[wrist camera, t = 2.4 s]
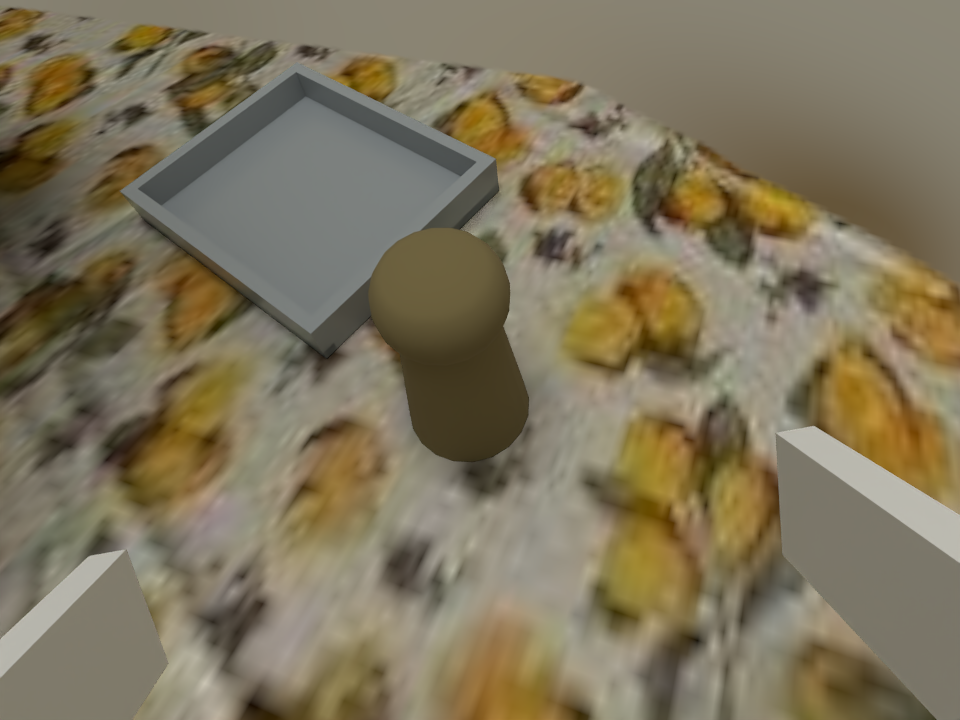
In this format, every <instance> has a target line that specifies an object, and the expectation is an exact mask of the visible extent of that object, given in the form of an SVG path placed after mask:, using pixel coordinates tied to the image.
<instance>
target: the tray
mask: <svg viewBox="0 0 960 720" xmlns="http://www.w3.org/2000/svg"><path fill="white" fill-rule="evenodd" d="M498 191H499V186H498V176H497V166H496V159H495V158H493V157H491V156H489V155H487V154H484V153H482V152H480V151H478V150H476V149H474V148H472V147H470V146H468V145H466V144H464V143H462V142H460V141H458V140H456V139H454V138H452V137H450V136H447V135H445V134H443V133H441V132H439V131H437V130H435V129H433V128H431V127H429V126H427V125H425V124H423V123H421V122H419V121H417V120H415V119H413V118H410V117H408V116H406V115H404V114H402V113H400V112H398V111H396V110H394V109H392V108H390V107H388V106H386V105H384V104H382V103H380V102H378V101H375V100H373V99H371V98H369V97H367V96H365V95H363V94H361V93H359V92H357V91H355V90H353V89H351V88H349V87H347V86H345V85H343V84H341V83H338V82H336V81H334V80H332V79H330V78H328V77H326V76H324V75H322V74H320V73H318V72H316V71H314V70H312V69H310V68H308V67H306V66H304V65H301V64H299V63H295V64H294V65H293V66H291V67H290V68H289V69H287V70H286V71H284V72H283V73H282V74H280V75H279V76H278V77H276V78H275V79H273V80H272V81H271V82H269V83H268V84H267V85H265V86H264V87H262V88H261V89H260V90H258V91H257V92H256V93H254V94H253V95H251V96H250V97H249V98H247V99H246V100H244V101H243V102H242V103H240V104H239V105H238V106H236V107H235V108H233V109H232V110H231V111H229V112H228V113H227V114H225V115H224V116H222V117H221V118H220V119H218V120H217V121H216V122H214V123H213V124H211V125H210V126H209V127H207V128H206V129H205V130H203V131H202V132H200V133H199V134H198V135H196V136H195V137H194V138H192V139H191V140H189V141H188V142H187V143H185V144H184V145H183V146H181V147H180V148H178V149H177V150H176V151H174V152H173V153H172V154H170V155H169V156H167V157H166V158H165V159H163V160H162V161H161V162H159V163H158V164H156V165H155V166H154V167H152V168H151V169H150V170H148V171H147V172H145V173H144V174H143V175H141V176H140V177H139V178H137V179H136V180H134V181H133V182H132V183H130V184H129V185H128V186H126V187H125V188H123V189H122V190H121V191H120V192H121V193H122V194H123V196H124V197H125V198H126V199H127V200H128V201H129V203H130V204H131V205H132V206H133V207H134V209H135V210H136V211H137V212H138V213H139V215H140V216H141V217H142V218H143V219H144V220H145V221H146V222H148V223H149V224H150V225H151V226H153V227H154V228H155V229H157V230H158V231H159V232H161V233H162V234H163V235H165V236H166V237H167V238H169V239H170V240H171V241H173V242H174V243H175V244H176V245H178V246H179V247H180V248H182V249H183V250H184V251H186V252H187V253H188V254H190V255H191V256H192V257H194V258H195V259H196V260H198V261H199V262H200V263H201V264H203V265H204V266H205V267H207V268H208V269H209V270H211V271H212V272H213V273H215V274H216V275H217V276H219V277H220V278H221V279H223V280H224V281H225V282H226V283H228V284H229V285H230V286H232V287H233V288H234V289H236V290H237V291H238V292H240V293H241V294H242V295H244V296H245V297H246V298H248V299H249V300H250V301H251V302H253V303H254V304H255V305H257V306H258V307H259V308H261V309H262V310H263V311H265V312H266V313H267V314H269V315H270V316H271V317H273V318H274V319H275V320H276V321H278V322H279V323H280V324H282V325H283V326H284V327H286V328H287V329H288V330H290V331H291V332H292V333H294V334H295V335H296V336H298V337H299V338H300V339H301V340H303V341H304V342H305V343H307V344H308V345H309V346H311V347H312V348H313V349H315V350H316V351H317V352H319V353H320V354H321V355H323V356H324V357H325V358H326V359H327V358H328V357H329V356H330V355H331V354H332V353H333V352H334V351H335V350H336V349H337V348H338V347H339V346H340V345H341V344H342V343H343V342H344V341H345V340H346V339H347V338H348V337H349V336H351V335H352V334H353V333H354V332H355V331H356V330H357V329H358V328H359V327H360V326H361V325H362V324H363V323H364V322H365V321H366V320H367V319H368V318H369V317H370V316H371V311H370V305H369V297H368V290H369V285H370V281H371V276H372V273H373V271H374V269H375V267H376V266H377V264H378V262H379V261H380V259H381V257H382V256H383V254H384V253H385V252H386V251H387V250H388V249H389V248H390V247H391V246H392V245H393V244H395V243H396V242H397V241H398V240H400V239H402V238H404V237H406V236H408V235H410V234H412V233H413V232H417V231H421V230H425V229H429V228H454V229H458V230H459V229H460V228H461V227H462V226H463V225H464V224H465V223H466V222H467V221H468V220H469V219H470V218H471V217H472V216H473V215H475V214H476V213H477V212H478V211H479V210H480V209H481V208H482V207H483V206H484V205H485V204H486V203H487V202H488V201H489V200H490V199H491V198H492V197H493V196H494V195H495V194H496V193H497V192H498Z"/></svg>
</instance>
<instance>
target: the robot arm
mask: <svg viewBox="0 0 960 720" xmlns="http://www.w3.org/2000/svg"><path fill="white" fill-rule="evenodd" d="M776 449H777V467H778V484H779V502H780V519H781V536H782V554H783V556H784V557H785V558H786V559H787V560H788V561H789V562H790V563H791V564H792V565H793V566H794V567H795V568H796V569H797V571H798V572H799V573H800V574H801V575H802V576H803V577H804V578H805V579H806V580H807V581H808V582H809V583H810V584H811V586H812V587H813V588H814V589H815V590H816V591H817V592H818V593H819V594H820V595H821V596H822V597H823V598H824V599H825V600H826V602H827V603H828V604H829V605H830V606H831V607H832V608H833V609H834V610H835V611H836V612H837V613H838V614H839V615H840V617H841V618H842V619H843V620H844V621H845V622H846V623H847V624H848V625H849V626H850V627H851V628H852V629H853V630H854V631H855V633H856V634H857V635H858V636H859V637H860V638H861V639H862V640H863V641H864V642H865V643H866V644H867V645H868V646H869V647H870V649H871V650H872V651H873V652H874V653H875V654H876V655H877V656H878V657H879V658H880V659H881V660H882V661H883V662H884V664H885V665H886V666H887V667H888V668H889V669H890V670H891V671H892V672H893V673H894V674H895V675H896V676H897V677H898V678H899V680H900V681H901V682H902V683H903V684H904V685H905V686H906V687H907V688H908V689H909V690H910V691H911V692H912V693H913V695H914V696H915V697H916V698H917V699H918V700H919V701H920V702H921V703H922V704H923V705H924V706H925V707H926V708H927V709H928V711H929V712H930V713H931V714H932V715H933V716H934V717H935V718H936V719H937V720H960V515H959V514H957V513H956V512H954V511H952V510H951V509H949V508H947V507H946V506H944V505H942V504H941V503H939V502H938V501H936V500H934V499H933V498H931V497H929V496H928V495H926V494H924V493H923V492H921V491H920V490H918V489H916V488H915V487H913V486H911V485H910V484H908V483H906V482H905V481H903V480H902V479H900V478H898V477H897V476H895V475H893V474H892V473H890V472H888V471H887V470H885V469H884V468H882V467H880V466H879V465H877V464H875V463H874V462H872V461H870V460H869V459H867V458H865V457H864V456H862V455H861V454H859V453H857V452H856V451H854V450H852V449H851V448H849V447H847V446H846V445H844V444H843V443H841V442H839V441H838V440H836V439H834V438H833V437H831V436H829V435H828V434H826V433H825V432H823V431H821V430H820V429H818V428H816V427H815V426H811V427H806V428H800V429H795V430H789V431H783V432H778V433H776ZM167 665H168V660H167V658H166V655H165V652H164V650H163V647H162V644H161V641H160V639H159V636H158V633H157V631H156V628H155V625H154V623H153V620H152V617H151V614H150V612H149V609H148V606H147V604H146V601H145V598H144V596H143V593H142V590H141V587H140V585H139V582H138V579H137V577H136V574H135V571H134V569H133V566H132V563H131V560H130V558H129V555H128V552H127V550H120V551H114V552H109V553H103V554H98V555H92V556H89V557H87V558H86V559H85V560H84V561H83V562H82V563H81V564H80V565H79V566H78V567H77V568H76V569H75V570H74V571H72V572H71V573H70V574H69V575H68V576H67V577H66V578H65V579H64V580H63V581H62V582H61V583H60V584H59V585H58V586H56V587H55V588H54V589H53V590H52V591H51V592H50V593H49V594H48V595H47V596H46V597H45V598H44V599H43V600H41V601H40V602H39V603H38V604H37V605H36V606H35V607H34V608H33V609H32V610H31V611H30V612H29V613H28V614H26V615H25V616H24V617H23V618H22V619H21V620H20V621H19V622H18V623H17V624H16V625H15V626H14V627H13V628H11V629H10V630H9V631H8V632H7V633H6V634H5V635H4V636H3V637H2V638H1V639H0V720H132V719H133V718H134V716H135V715H136V713H137V712H138V710H139V708H140V707H141V705H142V704H143V702H144V701H145V699H146V698H147V696H148V694H149V693H150V691H151V690H152V688H153V687H154V685H155V684H156V682H157V680H158V679H159V677H160V676H161V674H162V673H163V671H164V670H165V668H166V666H167Z"/></svg>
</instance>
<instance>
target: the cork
mask: <svg viewBox="0 0 960 720" xmlns="http://www.w3.org/2000/svg"><path fill="white" fill-rule="evenodd" d="M368 297H369V305H370V311H371V317H372V320H373V322H374V324H375V326H376V328H377V329H378V331H379V332H380V334H381V335H382V337H383V339H384V340H385V342H386V343H387V344H388V345H390V346H391V347H392V348H393V349H394V350H396V351H397V352H398V353H400V358H401V364H402V369H403V375H404V381H405V387H406V393H407V399H408V405H409V411H410V416H411V421H412V426H413V429H414V431H415V433H416V434H417V436H418V438H419V439H420V441H421V442H422V444H423V445H425V446H426V447H427V448H428V449H430V450H431V451H432V452H433V453H435V454H436V455H438V456H441V457H444V458H447V459H449V460H452V461H464V462H475V461H479V460H482V459H486V458H490V457H493V456H495V455H496V454H498V453H499V452H501V451H503V450H504V449H506V448H507V447H509V446H510V445H511V444H512V443H513V441H514V440H515V439H516V438H517V437H518V435H519V434H520V433H521V432H522V429H523V427H524V424H525V422H526V419H527V417H528V407H529V397H528V394H527V391H526V388H525V385H524V381H523V379H522V376H521V373H520V371H519V368H518V365H517V362H516V360H515V357H514V354H513V352H512V349H511V346H510V343H509V341H508V338H507V335H506V333H505V330H504V327H503V325H504V323H505V321H506V318H507V315H508V312H509V304H510V283H509V280H508V277H507V274H506V271H505V268H504V265H503V263H502V262H501V260H500V258H499V257H498V255H497V254H496V253H495V252H494V251H493V250H492V248H491V247H490V246H489V245H488V244H487V243H485V242H483V241H482V240H480V239H479V238H477V237H475V236H473V235H472V234H470V233H468V232H466V231H462V230H458V229H454V228H429V229H425V230H421V231H417V232H413V233H412V234H410V235H408V236H406V237H404V238H402V239H400V240H398V241H397V242H396V243H395V244H393V245H392V246H391V247H390V248H389V249H388V250H387V251H386V252H385V253H384V254H383V256H382V257H381V259H380V261H379V262H378V264H377V266H376V267H375V269H374V271H373V273H372V276H371V281H370V285H369V290H368Z"/></svg>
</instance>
